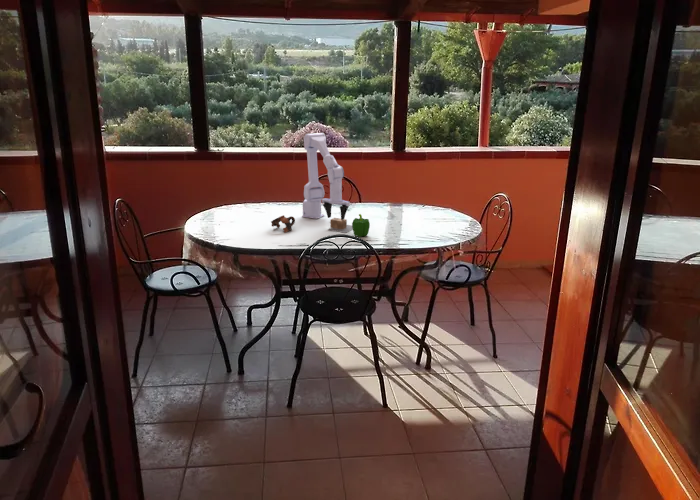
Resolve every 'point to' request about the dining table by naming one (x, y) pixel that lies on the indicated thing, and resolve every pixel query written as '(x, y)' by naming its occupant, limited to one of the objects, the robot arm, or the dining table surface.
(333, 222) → the walnut block
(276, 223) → the brown irregular piece
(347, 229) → the slate mat
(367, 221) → the bell pepper
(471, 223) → the dining table surface
